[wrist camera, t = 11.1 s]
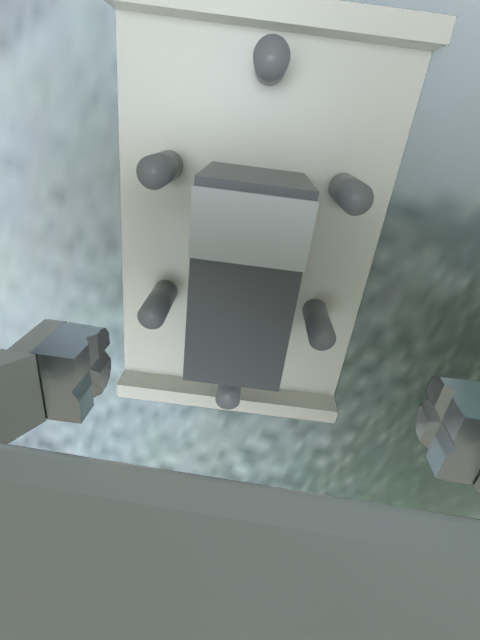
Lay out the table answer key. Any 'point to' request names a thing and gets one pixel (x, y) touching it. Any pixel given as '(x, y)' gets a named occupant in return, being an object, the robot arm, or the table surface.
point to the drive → (245, 272)
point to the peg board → (260, 165)
